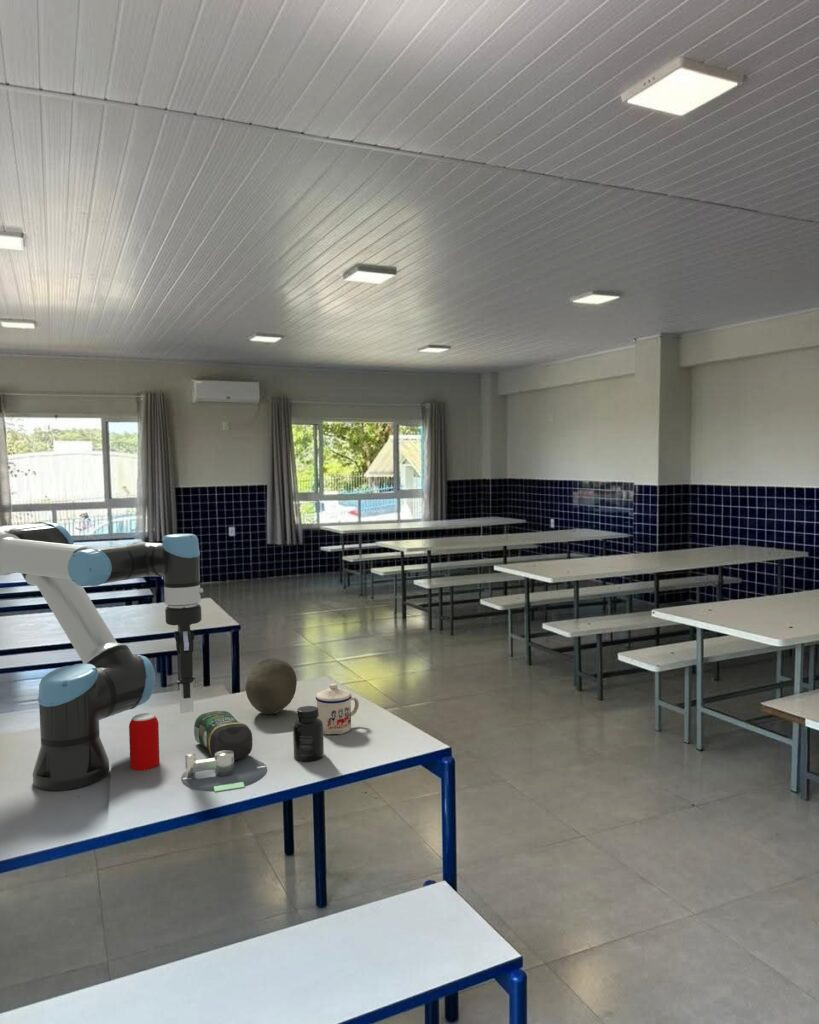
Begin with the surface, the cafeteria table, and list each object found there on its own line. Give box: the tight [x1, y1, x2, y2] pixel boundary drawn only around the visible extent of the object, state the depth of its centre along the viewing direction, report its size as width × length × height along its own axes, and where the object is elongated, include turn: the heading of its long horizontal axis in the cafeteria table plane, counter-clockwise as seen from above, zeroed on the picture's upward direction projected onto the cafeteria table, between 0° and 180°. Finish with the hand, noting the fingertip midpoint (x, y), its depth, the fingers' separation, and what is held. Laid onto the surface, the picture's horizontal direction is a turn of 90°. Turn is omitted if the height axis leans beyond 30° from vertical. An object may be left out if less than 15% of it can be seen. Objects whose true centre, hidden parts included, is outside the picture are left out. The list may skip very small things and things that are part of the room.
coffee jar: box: [193, 710, 253, 760], centre depth 172 cm, size 10×8×19 cm
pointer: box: [184, 750, 234, 778], centre depth 158 cm, size 10×4×5 cm, turn 111°
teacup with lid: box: [315, 683, 360, 735], centre depth 189 cm, size 12×9×12 cm
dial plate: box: [180, 757, 268, 793], centre depth 159 cm, size 18×18×1 cm
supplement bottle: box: [292, 705, 325, 763], centre depth 168 cm, size 7×7×12 cm
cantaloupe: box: [245, 657, 298, 715], centre depth 200 cm, size 14×14×15 cm
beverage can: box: [128, 712, 161, 772], centre depth 164 cm, size 6×6×12 cm
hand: (186, 711), depth 162 cm, fingers closed
